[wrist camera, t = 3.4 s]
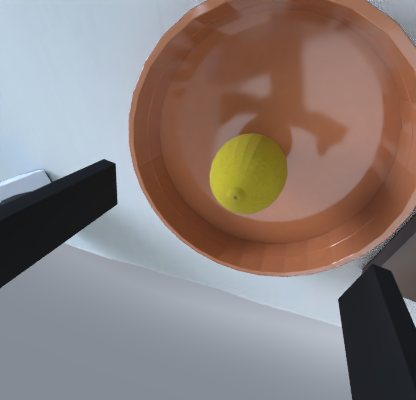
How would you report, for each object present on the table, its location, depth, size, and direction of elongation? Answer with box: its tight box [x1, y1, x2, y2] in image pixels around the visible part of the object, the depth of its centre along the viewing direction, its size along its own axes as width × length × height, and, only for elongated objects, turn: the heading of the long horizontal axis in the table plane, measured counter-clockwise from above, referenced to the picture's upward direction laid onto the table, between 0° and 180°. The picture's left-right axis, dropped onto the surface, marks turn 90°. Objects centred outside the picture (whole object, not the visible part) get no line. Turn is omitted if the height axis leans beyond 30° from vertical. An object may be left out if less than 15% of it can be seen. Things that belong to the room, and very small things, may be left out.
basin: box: [129, 0, 416, 277], centre depth 18 cm, size 21×21×4 cm
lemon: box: [210, 133, 287, 214], centre depth 17 cm, size 6×6×8 cm
